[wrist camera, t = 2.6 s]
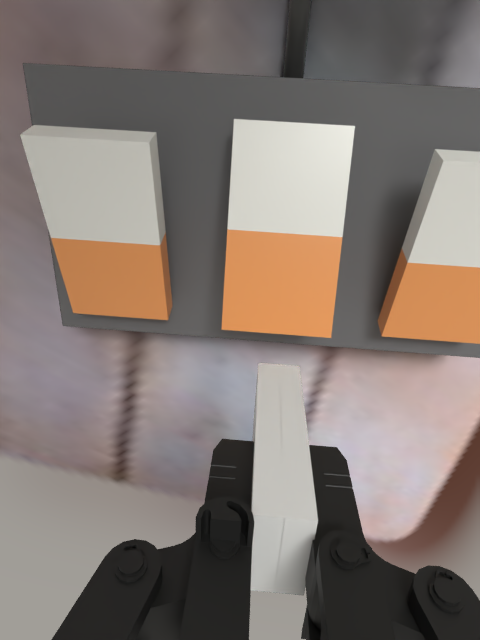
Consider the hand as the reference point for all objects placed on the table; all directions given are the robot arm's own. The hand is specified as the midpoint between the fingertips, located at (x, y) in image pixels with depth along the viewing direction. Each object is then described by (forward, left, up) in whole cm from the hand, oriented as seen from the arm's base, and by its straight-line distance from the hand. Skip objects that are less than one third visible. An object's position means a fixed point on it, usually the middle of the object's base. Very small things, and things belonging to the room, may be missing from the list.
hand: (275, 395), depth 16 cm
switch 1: (-4, -8, -7) cm, 11 cm away
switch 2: (-4, +8, -7) cm, 11 cm away
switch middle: (-4, 0, -7) cm, 8 cm away
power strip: (-9, 0, -12) cm, 15 cm away
